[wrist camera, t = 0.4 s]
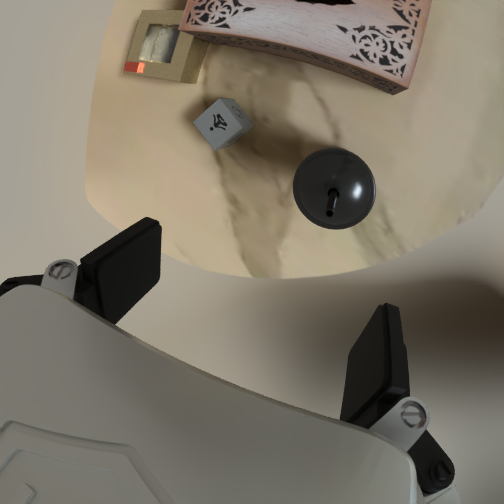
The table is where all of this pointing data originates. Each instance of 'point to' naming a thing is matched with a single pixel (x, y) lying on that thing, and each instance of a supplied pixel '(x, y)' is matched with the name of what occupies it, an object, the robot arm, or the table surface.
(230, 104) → the dice cube
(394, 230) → the table surface
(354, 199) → the drinking cup
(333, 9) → the tissue box cover
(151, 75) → the socket block
